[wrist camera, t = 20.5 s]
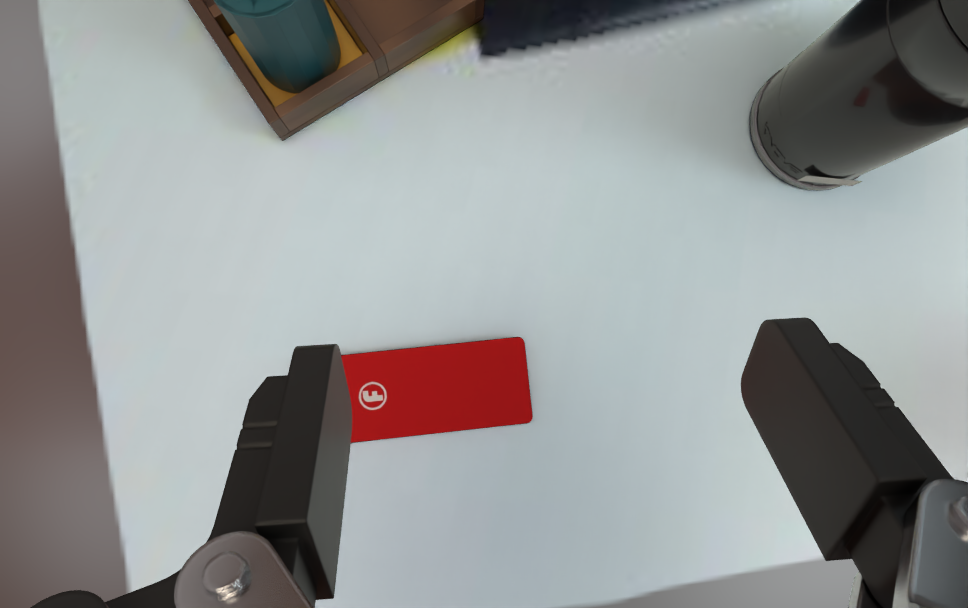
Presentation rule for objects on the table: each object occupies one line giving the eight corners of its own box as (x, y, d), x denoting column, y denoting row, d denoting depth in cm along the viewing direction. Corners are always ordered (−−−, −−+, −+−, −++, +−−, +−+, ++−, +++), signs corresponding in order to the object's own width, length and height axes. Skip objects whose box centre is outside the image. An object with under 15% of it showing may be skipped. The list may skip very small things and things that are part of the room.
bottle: (312, -1, 43) (261, -130, 32) (356, 66, 43) (321, -41, 32) (241, 41, 43) (163, -75, 31) (285, 108, 43) (223, 16, 31)
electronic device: (523, 336, 43) (302, 359, 42) (524, 336, 42) (299, 359, 41) (532, 421, 42) (309, 446, 41) (533, 422, 41) (307, 448, 41)
